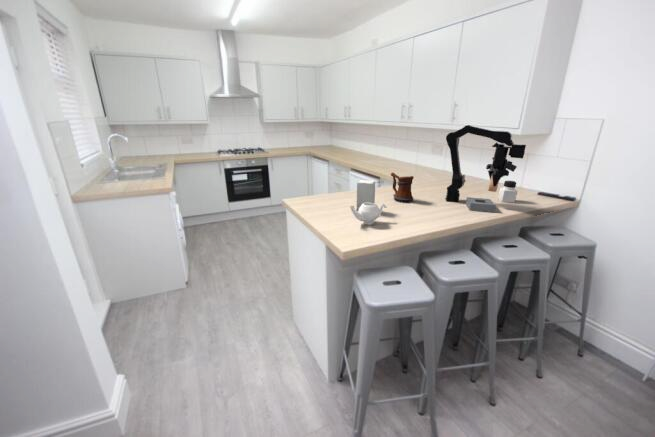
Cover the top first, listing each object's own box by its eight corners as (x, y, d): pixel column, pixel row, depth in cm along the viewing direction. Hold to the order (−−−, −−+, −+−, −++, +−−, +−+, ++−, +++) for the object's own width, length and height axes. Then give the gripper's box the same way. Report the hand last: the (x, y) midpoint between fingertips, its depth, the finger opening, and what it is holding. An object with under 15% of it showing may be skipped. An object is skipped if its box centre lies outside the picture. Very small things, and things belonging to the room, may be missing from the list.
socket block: (469, 210, 156) (470, 203, 154) (465, 203, 167) (466, 197, 165) (494, 212, 153) (495, 205, 151) (488, 205, 164) (490, 199, 162)
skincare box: (374, 209, 154) (376, 180, 149) (370, 213, 148) (372, 183, 143) (359, 207, 157) (361, 179, 152) (355, 210, 152) (356, 181, 146)
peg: (489, 191, 158) (493, 175, 154) (487, 189, 161) (491, 173, 158) (497, 192, 157) (501, 175, 154) (495, 190, 160) (499, 174, 157)
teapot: (391, 223, 136) (393, 204, 132) (354, 229, 128) (355, 209, 124) (379, 216, 144) (381, 198, 141) (344, 222, 136) (345, 203, 132)
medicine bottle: (514, 202, 170) (519, 182, 166) (501, 201, 172) (506, 182, 168) (510, 199, 177) (515, 180, 173) (497, 198, 178) (501, 179, 174)
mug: (382, 196, 179) (384, 172, 174) (396, 194, 184) (399, 170, 179) (402, 204, 164) (405, 178, 159) (417, 201, 170) (420, 176, 164)
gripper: (524, 160, 142) (515, 190, 148) (511, 154, 159) (504, 182, 165) (499, 158, 145) (492, 189, 150) (488, 153, 162) (482, 181, 167)
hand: (493, 185), depth 158 cm, fingers closed on peg, 4 cm apart
